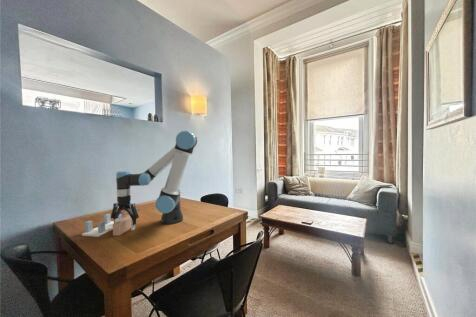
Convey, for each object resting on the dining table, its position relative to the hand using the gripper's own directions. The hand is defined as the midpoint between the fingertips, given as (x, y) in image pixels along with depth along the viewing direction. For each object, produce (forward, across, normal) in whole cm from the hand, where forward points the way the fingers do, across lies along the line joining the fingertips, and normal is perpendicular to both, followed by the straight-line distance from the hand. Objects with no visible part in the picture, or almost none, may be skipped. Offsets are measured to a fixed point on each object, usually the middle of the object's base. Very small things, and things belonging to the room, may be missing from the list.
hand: (125, 229), depth 129 cm
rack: (0, +14, +1) cm, 14 cm away
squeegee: (+1, +29, -30) cm, 42 cm away
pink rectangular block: (0, 0, 0) cm, 0 cm away
